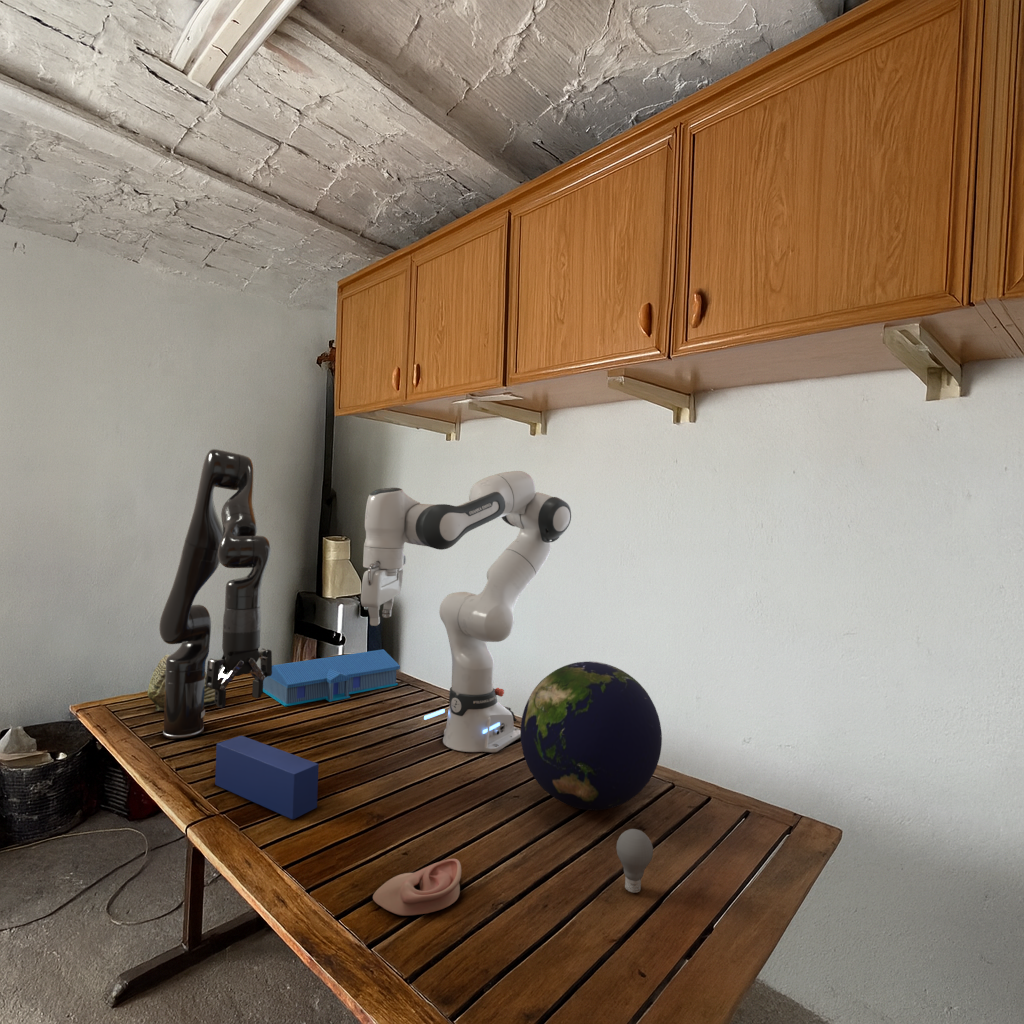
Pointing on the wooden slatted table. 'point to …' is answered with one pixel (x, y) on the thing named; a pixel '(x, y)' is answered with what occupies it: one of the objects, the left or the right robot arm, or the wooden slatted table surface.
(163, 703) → the fossil
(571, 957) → the wooden slatted table surface
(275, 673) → the model building
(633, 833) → the light bulb
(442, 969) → the wooden slatted table surface
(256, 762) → the box
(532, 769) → the globe
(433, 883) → the anatomical model
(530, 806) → the wooden slatted table surface
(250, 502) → the left robot arm
